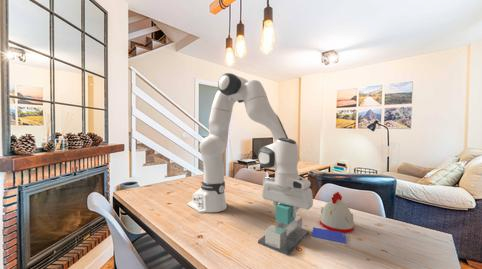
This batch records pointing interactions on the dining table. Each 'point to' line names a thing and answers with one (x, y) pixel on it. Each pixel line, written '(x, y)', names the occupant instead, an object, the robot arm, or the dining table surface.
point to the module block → (284, 213)
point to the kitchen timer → (337, 216)
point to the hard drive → (329, 236)
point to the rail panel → (289, 241)
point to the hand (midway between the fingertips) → (285, 214)
